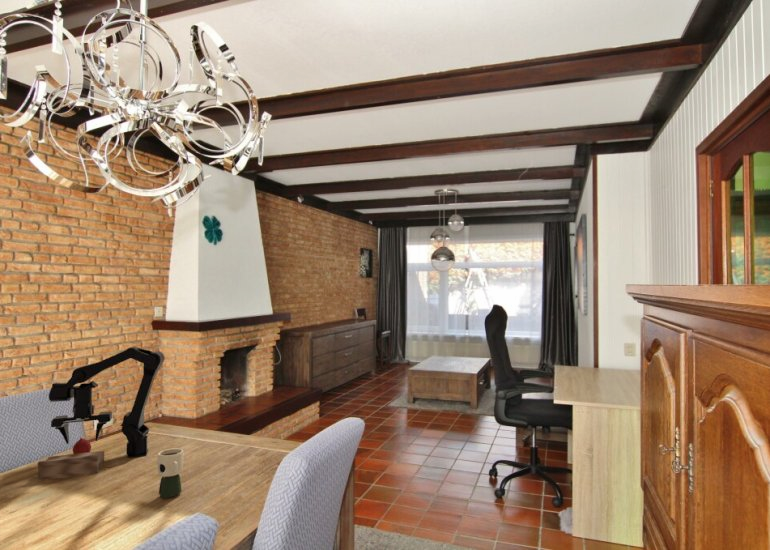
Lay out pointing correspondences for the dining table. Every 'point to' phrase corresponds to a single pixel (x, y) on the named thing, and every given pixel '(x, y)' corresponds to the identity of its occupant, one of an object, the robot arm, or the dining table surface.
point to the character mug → (170, 472)
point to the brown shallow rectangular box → (70, 465)
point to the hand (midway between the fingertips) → (82, 442)
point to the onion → (82, 446)
